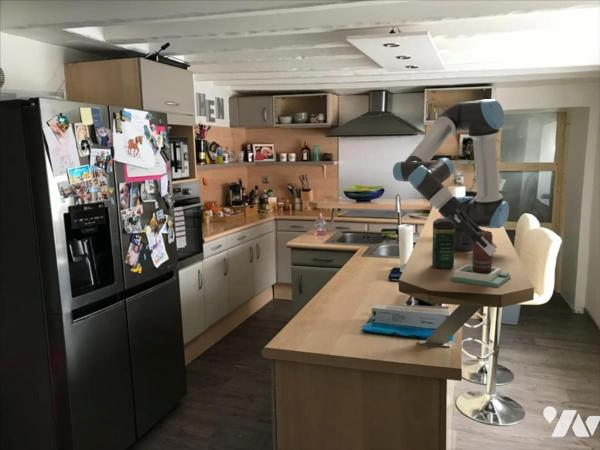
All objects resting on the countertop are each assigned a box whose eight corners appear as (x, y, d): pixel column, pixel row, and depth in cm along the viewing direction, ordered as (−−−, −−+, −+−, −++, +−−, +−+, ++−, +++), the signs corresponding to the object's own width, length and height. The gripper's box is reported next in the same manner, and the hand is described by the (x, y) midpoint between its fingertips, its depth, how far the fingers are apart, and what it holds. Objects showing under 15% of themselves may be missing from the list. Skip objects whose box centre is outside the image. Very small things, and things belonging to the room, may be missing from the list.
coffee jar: (455, 269, 184) (456, 220, 181) (434, 269, 185) (434, 220, 182) (451, 263, 194) (452, 217, 191) (430, 263, 195) (431, 217, 192)
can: (474, 273, 167) (475, 233, 165) (471, 269, 173) (472, 230, 171) (493, 274, 166) (494, 233, 164) (489, 269, 172) (490, 230, 170)
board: (464, 271, 180) (465, 263, 180) (510, 277, 170) (510, 268, 170) (450, 280, 169) (450, 271, 169) (497, 287, 159) (498, 277, 159)
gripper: (441, 207, 181) (486, 252, 177) (432, 213, 164) (483, 264, 160) (456, 192, 178) (503, 239, 174) (449, 198, 161) (501, 249, 157)
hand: (493, 251), depth 167 cm, fingers closed on can, 6 cm apart
